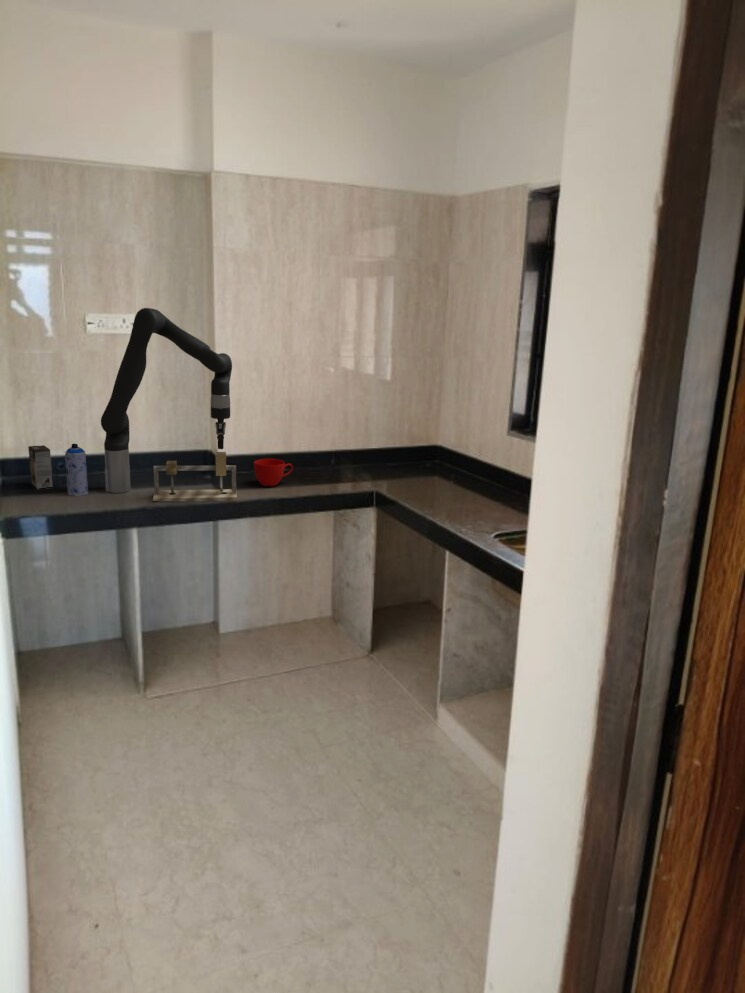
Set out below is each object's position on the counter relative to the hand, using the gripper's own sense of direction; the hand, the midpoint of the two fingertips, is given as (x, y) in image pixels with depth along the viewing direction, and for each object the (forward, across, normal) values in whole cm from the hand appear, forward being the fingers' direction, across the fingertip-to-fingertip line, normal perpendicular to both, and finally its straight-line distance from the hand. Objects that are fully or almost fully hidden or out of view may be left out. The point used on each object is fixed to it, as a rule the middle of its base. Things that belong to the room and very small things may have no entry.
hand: (220, 446), depth 295 cm
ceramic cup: (+21, -19, +22) cm, 36 cm away
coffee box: (+22, -20, -72) cm, 78 cm away
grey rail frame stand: (+21, 0, -10) cm, 23 cm away
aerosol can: (+21, -8, -56) cm, 60 cm away
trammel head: (+18, 0, 0) cm, 18 cm away
